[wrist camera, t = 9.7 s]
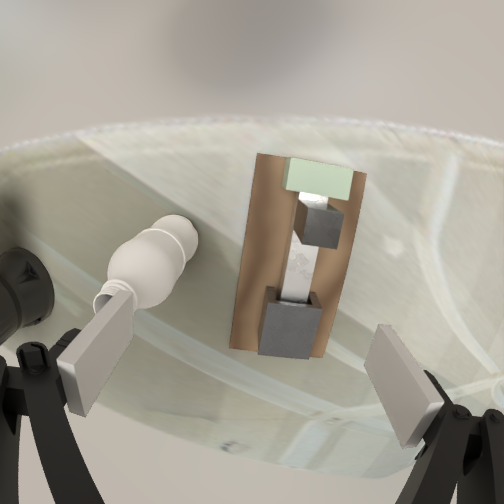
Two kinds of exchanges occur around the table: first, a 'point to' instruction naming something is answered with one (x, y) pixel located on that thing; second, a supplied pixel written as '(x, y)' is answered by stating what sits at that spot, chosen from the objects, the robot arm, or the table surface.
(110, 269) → the water bottle
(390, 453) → the table surface
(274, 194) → the base board
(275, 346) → the sleeve
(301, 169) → the socket block
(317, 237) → the rod
